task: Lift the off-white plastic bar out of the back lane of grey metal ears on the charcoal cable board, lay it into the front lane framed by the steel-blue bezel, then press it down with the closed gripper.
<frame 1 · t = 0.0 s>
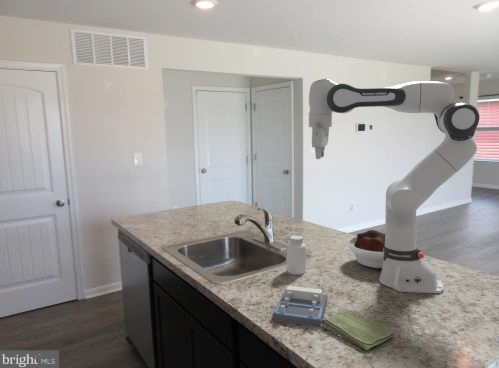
hand: (319, 158, 146), 48 cm above the worktop, tool pointing down, fingers open, 8 cm apart
pill bottle: (296, 272, 156), on the worktop
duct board: (301, 309, 123), on the worktop
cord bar: (304, 297, 128), point 2 cm above the worktop, touching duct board
chocolate pudding dish: (376, 264, 163), on the worktop
washcloth: (356, 333, 110), on the worktop
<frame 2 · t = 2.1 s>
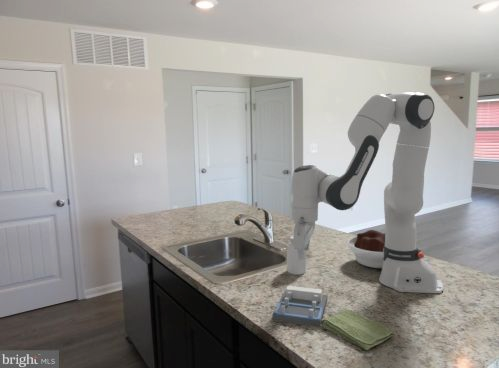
hand: (303, 254, 125), 18 cm above the worktop, tool pointing down, fingers open, 8 cm apart
nothing on the worktop moved.
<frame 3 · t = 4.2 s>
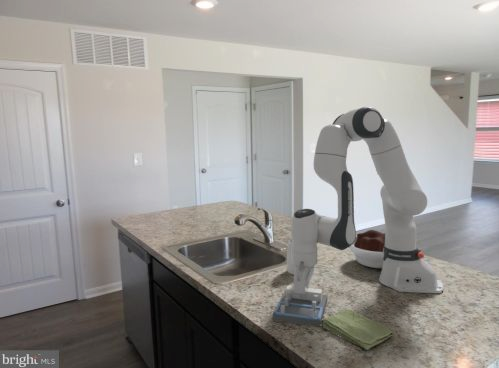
hand: (304, 295, 127), 3 cm above the worktop, tool pointing down, fingers closed on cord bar, 3 cm apart
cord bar: (304, 297, 128), point 2 cm above the worktop, touching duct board, gripper
everything else where it was.
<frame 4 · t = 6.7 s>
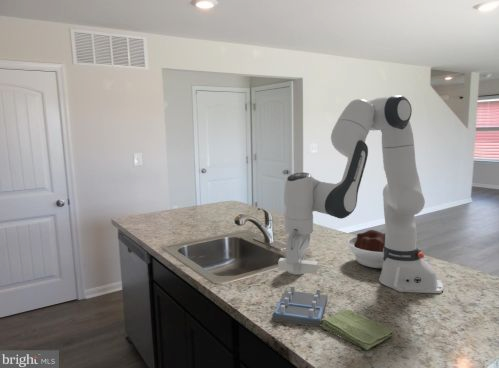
hand: (298, 268, 116), 16 cm above the worktop, tool pointing down, fingers closed on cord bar, 3 cm apart
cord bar: (298, 270, 116), point 16 cm above the worktop, touching gripper
everything else where it was.
when the fingers open (4 cm above the worktop, at t = 9.1 s): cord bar drops 2 cm, resting on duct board.
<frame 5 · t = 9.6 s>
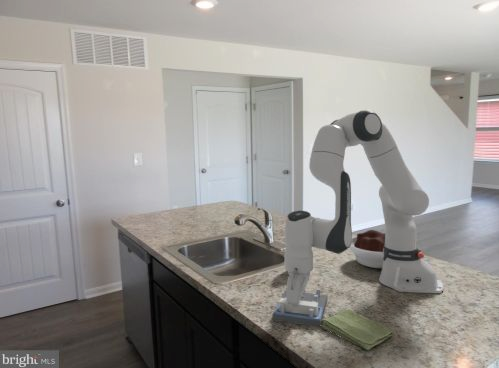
hand: (298, 304, 118), 4 cm above the worktop, tool pointing down, fingers open, 8 cm apart
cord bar: (298, 311, 118), point 2 cm above the worktop, touching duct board
everything else where it was.
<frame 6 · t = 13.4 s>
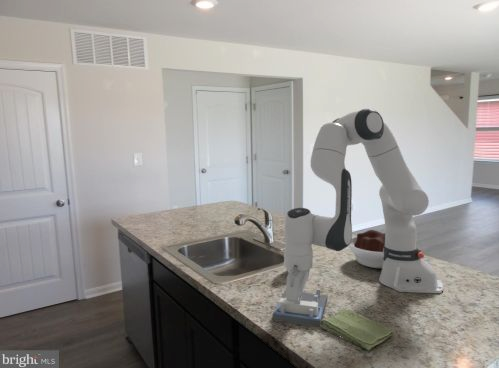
hand: (298, 302, 118), 5 cm above the worktop, tool pointing down, fingers closed, pressing on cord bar
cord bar: (298, 311, 118), point 2 cm above the worktop, touching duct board, gripper
everything else where it was.
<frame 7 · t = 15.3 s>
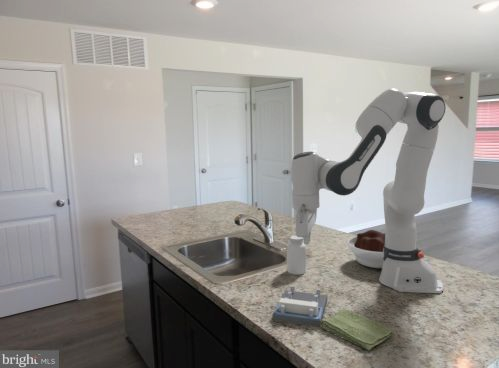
hand: (307, 242, 123), 22 cm above the worktop, tool pointing down, fingers closed
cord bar: (298, 311, 118), point 2 cm above the worktop, touching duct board
everything else where it was.
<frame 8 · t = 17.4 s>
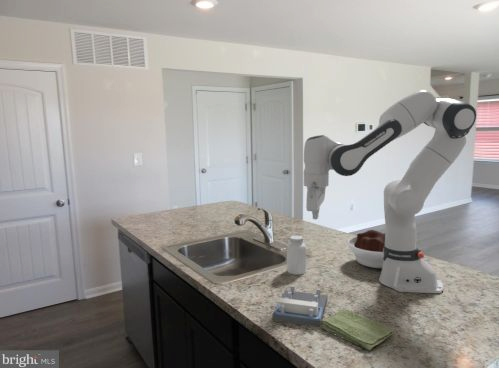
hand: (315, 218, 135), 27 cm above the worktop, tool pointing down, fingers closed
nothing on the worktop moved.
at the end: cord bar 0.0 cm from the target spot on the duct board, point 2.0 cm above the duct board's base; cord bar tilted 0°; the gripper is holding nothing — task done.
